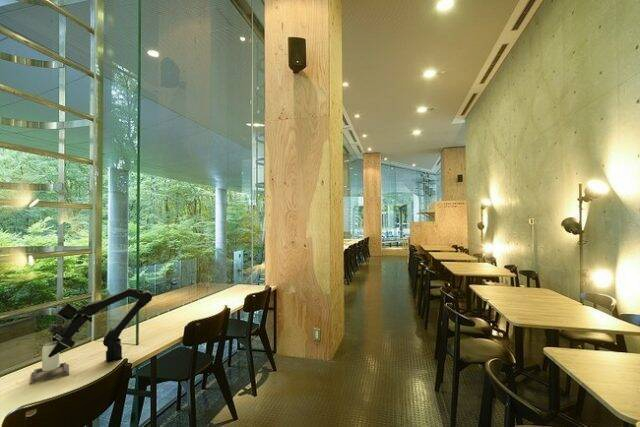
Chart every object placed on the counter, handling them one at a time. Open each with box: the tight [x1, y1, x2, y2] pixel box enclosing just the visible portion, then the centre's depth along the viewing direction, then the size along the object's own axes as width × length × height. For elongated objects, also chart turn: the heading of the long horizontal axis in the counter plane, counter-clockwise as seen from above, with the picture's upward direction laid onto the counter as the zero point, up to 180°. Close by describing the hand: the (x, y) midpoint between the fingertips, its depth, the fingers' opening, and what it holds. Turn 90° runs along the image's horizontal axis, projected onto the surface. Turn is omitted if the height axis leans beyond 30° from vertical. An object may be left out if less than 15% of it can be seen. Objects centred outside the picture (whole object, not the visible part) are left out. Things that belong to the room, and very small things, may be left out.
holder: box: [29, 362, 70, 386], centre depth 154 cm, size 14×14×2 cm
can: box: [41, 341, 61, 372], centre depth 154 cm, size 6×6×12 cm
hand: (47, 355), depth 153 cm, fingers closed on can, 6 cm apart
